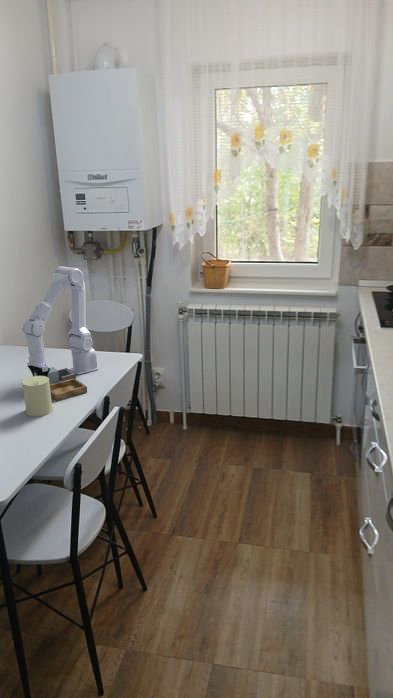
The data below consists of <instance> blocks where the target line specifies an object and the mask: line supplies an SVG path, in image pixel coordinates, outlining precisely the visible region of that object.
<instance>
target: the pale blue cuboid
mask: <svg viewBox="0 0 393 698" xmlns="http://www.w3.org/2000/svg"><path fill="white" fill-rule="evenodd" d="M49 368H50V371H49V373H48V376H47V377H48V378H49V384H50V385H51V384H55V383H58V382H61V381H60V379H59V372H58V370H59V369H57V368H55V367H49ZM34 376H37V375H36V373H35V372H34Z"/></svg>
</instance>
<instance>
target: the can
mask: <svg viewBox="0 0 393 698" xmlns="http://www.w3.org/2000/svg"><path fill="white" fill-rule="evenodd" d="M21 384H22V390H23V397H24V403H25V404H24V405H25V413H26V415H28V416H30V417H43V416H46V415H48V414H50V413H51V412H53V410H54V407H53V402H52V398H51V393H50V384H49V378H48V377H46V376H33V375H32V376H30V377H27V378H25V379H23V380H22V382H21Z"/></svg>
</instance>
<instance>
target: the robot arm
mask: <svg viewBox="0 0 393 698" xmlns="http://www.w3.org/2000/svg"><path fill="white" fill-rule="evenodd" d="M49 285H50V286H49V287H48V289H47V291H46V294H45V296H44V298H43V300H41V301H39V302H38V303H37V304H36V305H35V307H34V309H33V310H34V311H33V312H32V313H31V315H30V316H29V319H27V320H26V321H24V323H23V325H22V328H21V330H22V332H23V333H24V335H25V338H26V340H27V341H26V342H27V347H28V348H27V350H28V362H26V365H27V368H28V369H29V371H30V372H31V375H32V377H33V376H34V372H35V373H36V375H37V376H46V377H47V376H48V373H49V371H50V368H51V367H48V365H47V360H46V354H45V346H44V338H43V334H44V333H45V331H46V323H47V320H48V319H49V317H50V315H51V313H52V312H53V307H52V306H53V304H54V302H55V301H56V299H57V297H58V296H59V294H60V293H61V291H62V290H63V289H66V288H69V289H70V290H71V328H70V329H69V330H68V334H67V335H68V336H67V337H66V344H67V346H68V347H69V348H70V351H71V358H72V367H71V368H69V370H70V371H72V372H73V373H75V374H76V376H77V375H78V376H79V375H83V374H87V373H91V372H94V371H97V370H99V368H98V362H97V352H96V350H95V349H94V348H93V339H92V334H91V332H90V331H89V329H88V328H87V315H86V314H87V311H86V305H87V304H86V303H87V302H86V300H87V299H86V296H87V295H86V283H85V280H84V272H83V271H82V270H81V269H80V268H77V267H70V266H69V267H68V266H63V265H59V266H56V268H55V270H54V273H53V274H52V281H51V283H50V284H49Z"/></svg>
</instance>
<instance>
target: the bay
mask: <svg viewBox="0 0 393 698" xmlns="http://www.w3.org/2000/svg"><path fill="white" fill-rule="evenodd" d="M57 370H58V372H59V380H61V382H62V381H66V380H70V379H73V378H75V379H77V374H76V373H74V372H73V371H71V370H70V368H68V367H66V368H61V369H57Z"/></svg>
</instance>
